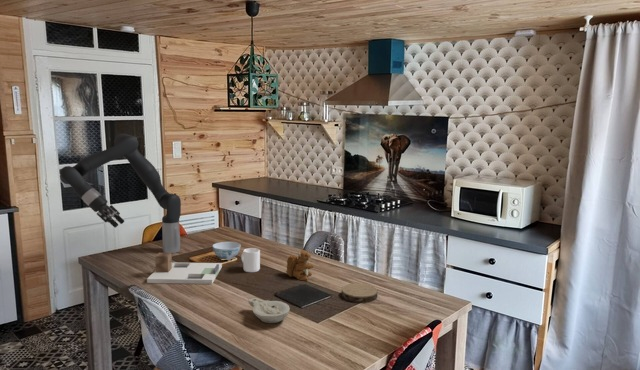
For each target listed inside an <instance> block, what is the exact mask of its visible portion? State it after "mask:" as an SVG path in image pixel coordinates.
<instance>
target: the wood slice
mask: <svg viewBox="0 0 640 370" xmlns="http://www.w3.org/2000/svg"><path fill="white" fill-rule="evenodd" d="M378 292H379V291H378V289H377V288H376V287H375V286H373V285H370V284H367V283H359V282H358V283H348V284H345V285H344V286H342V288H341V297H342V298H343V299H344V300H345V301H349V302H353V303H360V304H361V303H369V302H374V301H375V300H377V299H378V294H379V293H378Z"/></svg>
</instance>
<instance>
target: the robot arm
mask: <svg viewBox="0 0 640 370" xmlns="http://www.w3.org/2000/svg"><path fill="white" fill-rule="evenodd" d="M138 148H139V140H138V139H137V137H135V136H133V135H131V134H127V133H120V134H117V135H116V136H115V137H114V145H113V146H111V147H109V148H107V149H103V150H100V151H97V152H94V153H92V154H90V155H88V156H86V157H84V158H82V159H80V160H79V161H78V162H77V163H76V164H75V165H73V166H70V165H67V166H64V167H62V168H61V169H60V171H59V172H60V173H59V177H60V179H59V180H60V181H61V182H62V184H64V185H69V186H71V188H72V189H73V192H74V193H75V195H77V196H78V197H79V198H80V199H81V200H82V201H83V203H85V204H86V205H87V206H88V208H90V209H91V210H93V212H94V213H96V215H97V216H98V217H99V218H100V219H101V220H102V221H103V222H104V223H109V224H110V225H111V226H113V228H117V227H118V226H119V224H120V225H123V223H125V220H124V219H123V218H122V217H121V216H120V214H121V213H120V211H118V210H117V209H116V207H114V206H113V205H112V204H111V205H110V206H109V205H108V200H107V198H105V197H104V196H103V195H102V194H101V193H100V192H99V191H97V190H96V188H94V187H93V186H92V185H91V184H89V183H88V181H86V180H85V178H84V176H86V175H87V174H89V173H91V172H93V171H94V170H97V169H99V168H100V167H102V166H104V165H106V164H108V163H110V162H112V161H114V160H116V159H119V158H121V157H124V158H125V160H127V161H128V163H129V164H130V166H131V167H132V169H133V170H134V172H136V174H137V176H138V177H139V178H140V180H141V181H142V183H144V185H145V186H146V187H147V189H148V190H149V191H150V192H151V194H152V196H153V197H154V198H155V200H156V202H157V203H158V205H159V206H160V207H161V208H162V209H164V210H166V215H163V216H162V218H161V227H162V229H161V230H162V253H171V254H175V253H179V252H180V251H181V233H180V219H181V218H180V217H181V215H182V214H181V213H182V212H181V208H182V207H181V206H182V203H181V202H182V201H181V198H180V196H179V195H177V194H176V193H171V192H169V191H167V190H166V188H165V187H164V185H163V184H162V180H161V175H160V173H159V171H158V170H157V168H156V167H155V166H154V164H152V162H151V161H149V160H148V158H146V157H145V156H144V155H142V153H140V151H139V149H138Z"/></svg>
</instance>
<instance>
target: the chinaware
mask: <svg viewBox="0 0 640 370" xmlns="http://www.w3.org/2000/svg"><path fill="white" fill-rule="evenodd" d="M241 247H242V245H241V243H239V242H236V241H221V242H216V243H214V244H212V250H213V253H214V254H215V255H216V257H217V258H219V259H220V260H221V259H226V260H230V259H233V260H234V258H235V257H236V256H237V255H238V254H239V253H240V250H241ZM230 261H231V260H230Z"/></svg>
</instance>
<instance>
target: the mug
mask: <svg viewBox="0 0 640 370" xmlns="http://www.w3.org/2000/svg"><path fill="white" fill-rule="evenodd" d="M240 259H241V262H242V264H243V266H242V267H243V271H244V272H246V273H256V272H259V271H260V270H261V249H259V248H255V247H253V248H252V247H251V248H244V249H243V251H242V253H241V255H240Z"/></svg>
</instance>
